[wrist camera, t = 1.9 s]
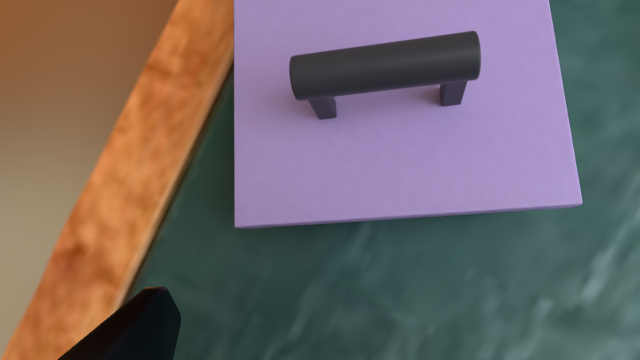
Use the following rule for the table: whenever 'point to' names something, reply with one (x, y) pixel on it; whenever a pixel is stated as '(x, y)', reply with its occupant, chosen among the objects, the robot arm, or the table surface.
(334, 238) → the table surface
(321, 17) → the purple square slab
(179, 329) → the robot arm
